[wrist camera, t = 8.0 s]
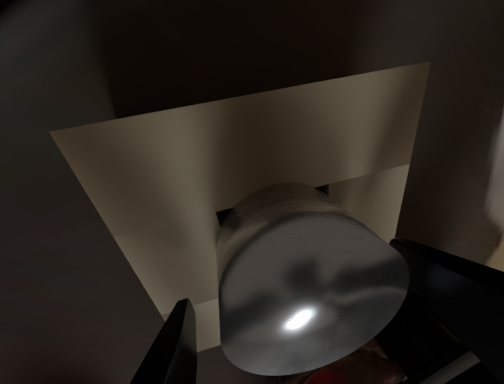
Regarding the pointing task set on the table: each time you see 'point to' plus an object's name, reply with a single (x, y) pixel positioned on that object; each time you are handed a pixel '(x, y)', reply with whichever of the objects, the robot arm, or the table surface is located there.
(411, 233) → the table surface
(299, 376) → the stew
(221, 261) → the pin
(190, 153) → the hitch block
